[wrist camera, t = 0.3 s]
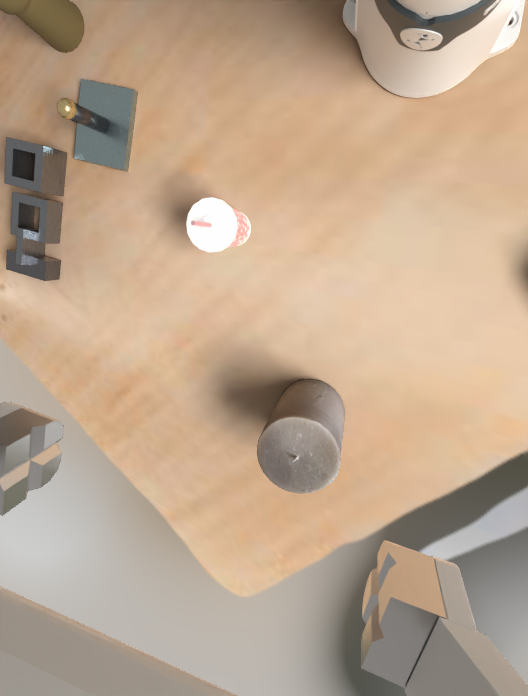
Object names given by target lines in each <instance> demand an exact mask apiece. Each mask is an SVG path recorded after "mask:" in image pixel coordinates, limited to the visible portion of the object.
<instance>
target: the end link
mask: <svg viewBox="0 0 528 696" xmlns="http://www.w3.org/2000/svg"><path fill="white" fill-rule="evenodd" d="M66 160H67V153H65V152H62V151H59V150H56V149H52V148H49V147H46V146H42V145H38V144H34V143H30V142H25V141H21V140H17V139H13V138H8V137H6V156H5V179H4V183H6V184H10V185H14V186H18V187H22V188H25V189H29V190H33V191H37V192H41V193H47V194H53V195H59V196H64V184H65V172H66Z"/></svg>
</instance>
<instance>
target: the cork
mask: <svg viewBox="0 0 528 696" xmlns="http://www.w3.org/2000/svg"><path fill="white" fill-rule="evenodd" d="M0 10H2V11H4V12H5V13H8V14H12V15H17V16H18V17H19V18H20V19H21V20H23V21H24V22H25V23H26V24H27V25H28V26H30V27H31V28H32V29H33V30H34V31H35V32H36V33H38V34H39V35H40V36H41V37H42V38H43V39H44V40H46V41H47V42H48V43H49V44H50V45H51V46H52V47H54V48H55V49H56V50H58V51H60V52H65V53H67V52H70V51H73V50H74V49H75V48H77V47H78V45H79V44H80V42H81V40H82V37H83V34H84V21H83V16H82V14H81V12H80V10H79V9H78V7H77V6H76V5H75V4H74V3H72V2H70V1H68V0H0Z"/></svg>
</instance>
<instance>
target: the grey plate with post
mask: <svg viewBox="0 0 528 696" xmlns="http://www.w3.org/2000/svg"><path fill="white" fill-rule="evenodd" d="M137 95H138V92H137V91H135V90H134V89H129V88H124V87H119V86H114V85H109V84H103V83H98V82H93V81H88V80H83V79H81V84H80V95H79V105H78V104H76V103H74V102H73V101H71V100H70V99H67V98H62V99H60V100H59V101H58V103H57V111H58V113H59V114H60V115H61V116H62V117H63V118H65V119H70V120H72V121H74V122H77V129H76V141H75V152H74V158H75V159H78V160H82V161H87V162H91V163H95V164H99V165H104V166H108V167H112V168H116V169H120V170H125V171H128V167H129V159H130V151H131V143H132V135H133V127H134V119H135V111H136V103H137Z"/></svg>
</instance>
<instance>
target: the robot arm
mask: <svg viewBox="0 0 528 696" xmlns="http://www.w3.org/2000/svg"><path fill="white" fill-rule="evenodd" d="M355 1H356V3H355ZM524 4H525V0H347V1H346V3H345V5H344V8H343V22H344V24H345V26H346V27H347V29H348V30H349V31H350V32H351V34H352V35H353V36H354V37H355V38H356V39H357V41H358V43H359V46H360V50H361V53H362V57H363V60H364V63H365V65H366V67H367V69H368V71H369V72H370V74H371V75H372V77H373V78H374V79H375V80H376V81H377V82H378V83H379V84H380V85H381V86H382V87H384V88H385V89H387V90H388V91H390V92H392V93H394V94H397V95H400V96H404V97H411V98H421V97H428V96H433V95H436V94H439V93H442V92H444V91H447V90H449V89H451V88H452V87H454V86H456V85H457V84H459V83H460V82H461V81H463V80H464V79H465V78H466V77H468V76H469V75H470V74H471V73H472V72H473V71H474V70H475V69H476V68H477V67H478V66H479V65H480V64H481V63H483V62H484V61H485V60H487V59H489V58H492V57H494V56H496V55H498V54H500V53H502V52H504V51H506V50H508V49H509V48H510V47H512V46H513V45H514V43H515V42H516V40H517V38H518V35H519V32H520V27H521V21H522V15H523V9H524ZM510 20H511V22H512V24H511V25H509V26H507V25H508V24H509V22H510ZM63 427H64V425H63V424H62V423H61V422H60V421H59V420H56V419H54V418H51V417H49V416H46V415H44V414H41V413H39V412H36V411H33V410H31V409H28V408H25V407H23V406H20V405H18V404H15V403H12V402H3V403H1V404H0V515H2V516H3V515H4V514H5V513H7V512H8V511H10V510H11V509H12V508H14V507H15V506H16V505H18V504H19V503H21V502H22V501H23V500H25V499H26V497H27V493H28V491H30V490H34V489H38V488H41V487H42V486H43V485H45V484H46V483H48V482H49V481H50V480H51V478H52V477H53V476H54V474H55V473H56V472H57V470H58V467H59V464H60V462H61V450H60V448H59V446H58V444H57V442H58V441H60V440H61V439H62V438H63ZM362 609H363V610H362V618H363V620H364V621H365V623H366V627H365V630H364V632H363V635H362V658H361V659H362V660H361V668H362V669H364V670H367V671H369V672H371V673H373V674H375V675H378V676H380V677H382V678H384V679H386V680H388V681H391V682H393V683H395V684H397V685H399V686H402V687H404V688H405V693H406V695H407V696H528V685H527V684H526V683H525V681H524V680H523V679H522V678H521V677H520V675H519V674H518V673H517V672H516V671H515V670H514V668H513V667H512V666H511V665H510V664H509V662H508V661H507V660H506V659H505V658H504V656H503V655H502V654H501V653H500V652H499V651H498V649H497V648H496V647H495V646H494V645H493V644H492V642H491V641H490V640H489V639H488V637H487V636H486V635H485V634H482V633H480V632H477V629H476V625H475V622H474V619H473V615H472V612H471V608H470V605H469V601H468V598H467V595H466V591H465V587H464V584H463V580H462V577H461V574H460V570H459V568H458V566H457V565H456V564H454V563H451V562H448V561H445V560H442V559H439V558H436V557H433V556H428V555H425V554H422V553H419V552H417V551H414V550H411V549H408V548H405V547H403V546H400V545H397V544H394V543H391V542H388V541H386V540H384V542H383V544H382V545H381V547H380V550H379V552H378V567H377V568H375V569H374V570H372V571H371V573H370V576H369V579H368V581H367V585H366V589H365V593H364V598H363V607H362ZM0 696H237V695H235V694H233V693H230V692H228V691H226V690H224V689H222V688H219V687H217V686H215V685H213V684H211V683H209V682H207V681H205V680H202V679H200V678H198V677H196V676H194V675H191V674H189V673H187V672H185V671H183V670H180V669H179V668H176V667H174V666H172V665H170V664H168V663H166V662H163V661H161V660H159V659H157V658H155V657H153V656H151V655H148V654H146V653H144V652H142V651H140V650H138V649H135V648H133V647H131V646H129V645H127V644H125V643H122V642H120V641H118V640H116V639H114V638H111V637H109V636H107V635H105V634H103V633H101V632H98V631H96V630H94V629H92V628H90V627H88V626H85V625H83V624H81V623H79V622H77V621H75V620H72V619H70V618H68V617H66V616H64V615H62V614H59V613H57V612H55V611H53V610H51V609H49V608H46V607H44V606H42V605H40V604H38V603H35V602H33V601H31V600H29V599H27V598H24V597H23V596H20V595H18V594H16V593H14V592H12V591H10V590H7V589H5V588H3V587H1V586H0Z"/></svg>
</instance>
